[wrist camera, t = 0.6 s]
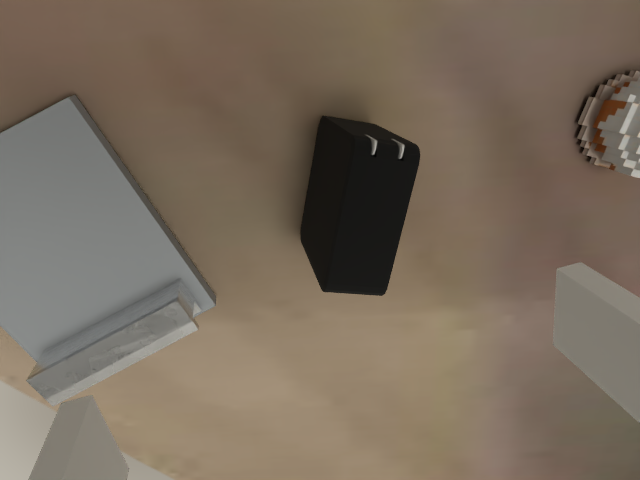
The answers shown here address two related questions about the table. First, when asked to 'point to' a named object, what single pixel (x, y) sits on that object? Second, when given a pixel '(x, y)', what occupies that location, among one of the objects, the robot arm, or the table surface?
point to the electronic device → (357, 204)
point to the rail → (115, 343)
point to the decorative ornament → (614, 125)
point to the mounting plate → (76, 232)
